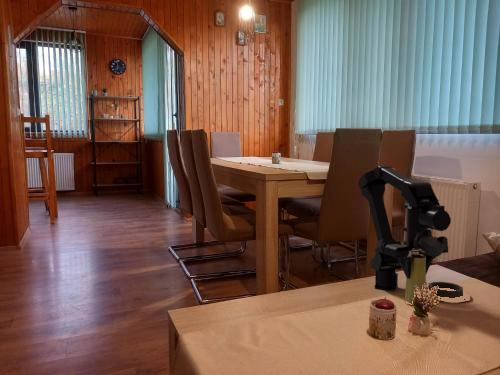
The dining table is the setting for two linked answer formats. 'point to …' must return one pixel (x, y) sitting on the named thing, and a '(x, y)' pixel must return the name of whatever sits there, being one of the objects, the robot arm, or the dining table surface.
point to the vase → (415, 276)
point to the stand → (444, 292)
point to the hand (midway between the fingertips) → (416, 277)
